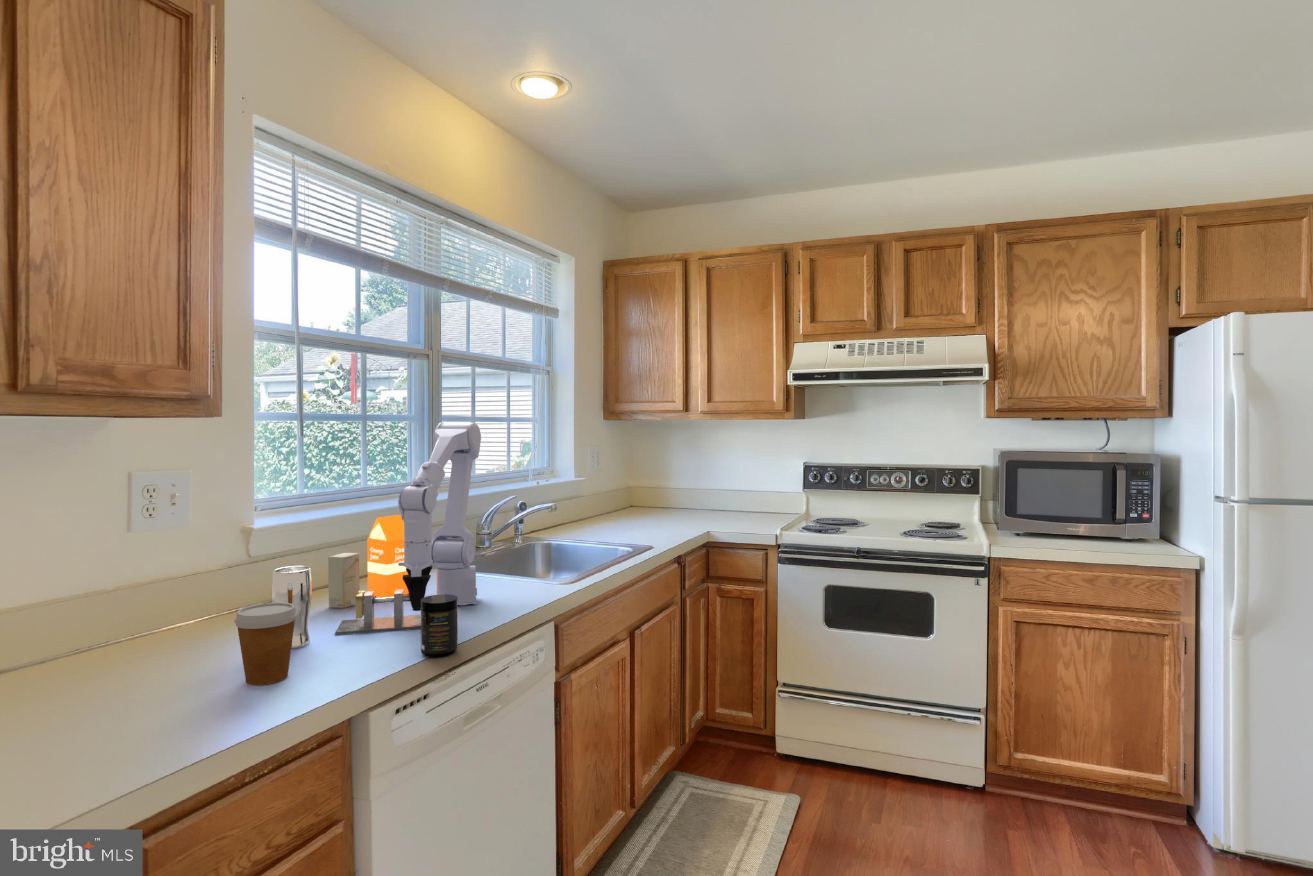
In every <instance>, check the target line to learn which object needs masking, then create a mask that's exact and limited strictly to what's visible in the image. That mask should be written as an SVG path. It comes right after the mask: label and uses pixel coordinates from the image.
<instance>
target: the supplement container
mask: <svg viewBox="0 0 1313 876" xmlns="http://www.w3.org/2000/svg"><path fill="white" fill-rule="evenodd" d="M458 608H459V607H458V597H457V596H455V595H448V594H441V595H437V594H434V595H432V594H431V595H428V596H427V595H426V596H425V597H424V598H422V599H421V611H420V615H421V629H420V647H421V649H420V650H421V651H420V652H421V654H422V656H424V657H425V658H429V659H441V658H446V657H450V656H452V655H454V654H456V652H457V651H458V648H459V647H458V646H459V645H458V643H459V642H458V638H459V635H458V633H459V631H458V630H459V629H458V625H459V624H458Z"/></svg>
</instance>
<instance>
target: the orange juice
mask: <svg viewBox="0 0 1313 876" xmlns="http://www.w3.org/2000/svg"><path fill="white" fill-rule="evenodd" d="M399 561H404V521H403V520H402V518H401V514H395V515H388V516H381V517H376V520H375V522H374V524H373V526H372V529H371V531H370V533H369V535H368V537H367V591H374V597H375V596H376V597H375V598H380V597H394V593H395V590H398V589H403V594H405V595H409V592H408V589H407V586H406V584H405V582H404V581H403V575H408V573H407V571H406V567H404V566H398V562H399Z"/></svg>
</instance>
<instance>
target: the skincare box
mask: <svg viewBox="0 0 1313 876" xmlns="http://www.w3.org/2000/svg"><path fill="white" fill-rule="evenodd" d="M327 558H328V561H327V562H328V563H327V565H328V567H327V569H328V570H327V572H328V574H327V576H328V577H327V579H328V580H327V581H328V608H334V609H335V608H336V609H344V608H348V607H350V606H352V605H351V599H356V595H358V592H359V591H361V590H360V585H361V584H360V553H359V552H342V553H337V554H333V555H330V556H328V557H327Z"/></svg>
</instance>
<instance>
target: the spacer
mask: <svg viewBox="0 0 1313 876" xmlns="http://www.w3.org/2000/svg"><path fill="white" fill-rule="evenodd" d="M365 593H366V590H360V591H359V592H358V595H356V605H355V619H363V618H364V604H363V599H364V594H365Z"/></svg>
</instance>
